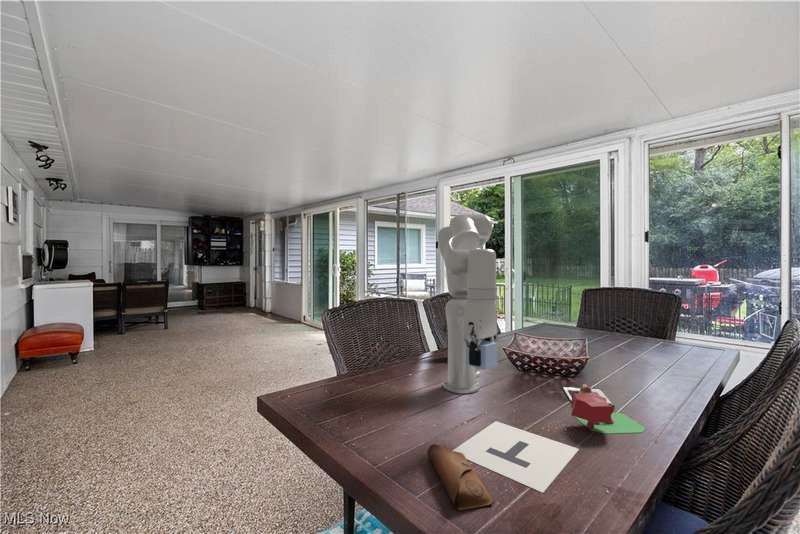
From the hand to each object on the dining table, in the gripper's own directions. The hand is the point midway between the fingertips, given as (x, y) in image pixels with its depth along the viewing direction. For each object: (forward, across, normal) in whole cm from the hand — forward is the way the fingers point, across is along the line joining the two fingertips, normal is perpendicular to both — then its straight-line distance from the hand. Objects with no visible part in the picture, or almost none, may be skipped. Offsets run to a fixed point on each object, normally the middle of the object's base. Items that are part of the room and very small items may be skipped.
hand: (481, 362), depth 98 cm
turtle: (+18, -26, +22) cm, 39 cm away
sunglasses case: (+19, +22, +8) cm, 30 cm away
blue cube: (+1, 0, 0) cm, 1 cm away
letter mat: (+18, +4, +11) cm, 22 cm away
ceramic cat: (+17, -54, -42) cm, 71 cm away
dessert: (+18, -44, +12) cm, 50 cm away
